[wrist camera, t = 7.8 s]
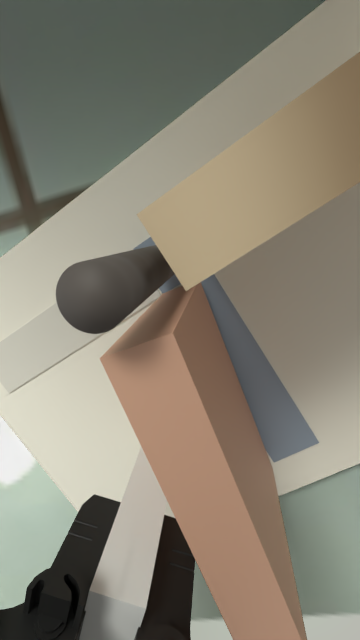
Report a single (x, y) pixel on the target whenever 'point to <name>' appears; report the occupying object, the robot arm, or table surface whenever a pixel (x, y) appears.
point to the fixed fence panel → (229, 204)
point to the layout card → (220, 289)
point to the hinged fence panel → (209, 461)
